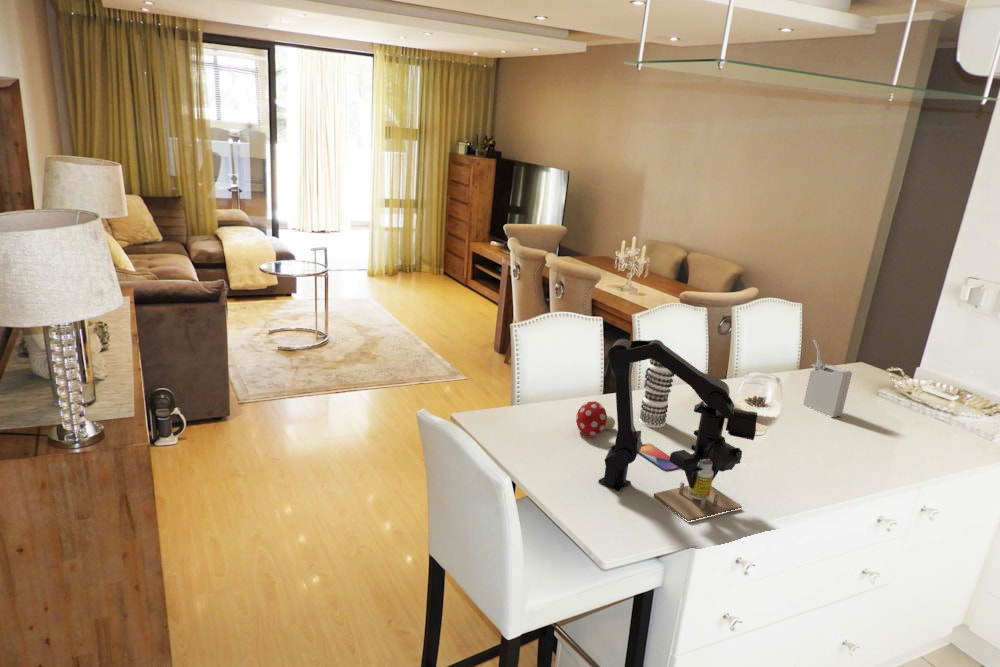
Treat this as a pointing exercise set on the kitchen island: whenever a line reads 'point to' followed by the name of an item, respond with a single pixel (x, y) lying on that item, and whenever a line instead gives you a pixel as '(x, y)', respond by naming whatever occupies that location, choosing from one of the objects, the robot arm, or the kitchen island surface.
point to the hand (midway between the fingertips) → (699, 486)
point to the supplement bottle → (702, 481)
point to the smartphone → (657, 457)
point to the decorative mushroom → (593, 419)
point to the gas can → (827, 387)
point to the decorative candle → (655, 395)
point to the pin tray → (695, 503)
